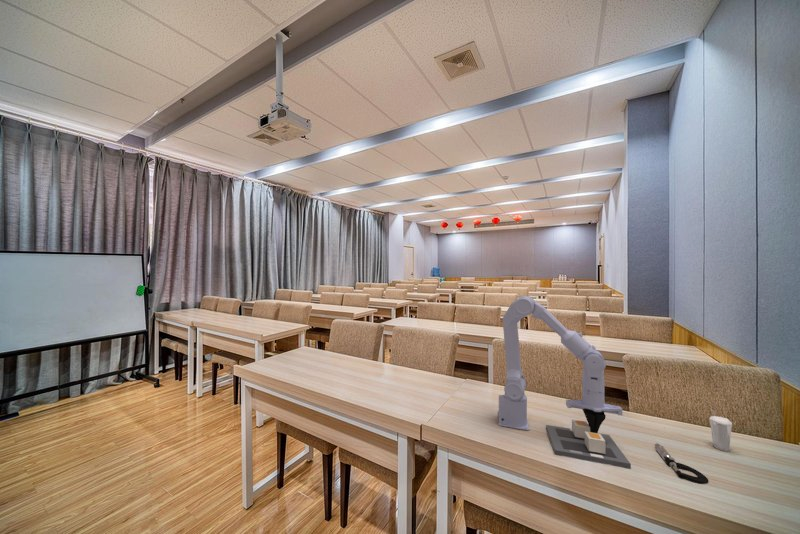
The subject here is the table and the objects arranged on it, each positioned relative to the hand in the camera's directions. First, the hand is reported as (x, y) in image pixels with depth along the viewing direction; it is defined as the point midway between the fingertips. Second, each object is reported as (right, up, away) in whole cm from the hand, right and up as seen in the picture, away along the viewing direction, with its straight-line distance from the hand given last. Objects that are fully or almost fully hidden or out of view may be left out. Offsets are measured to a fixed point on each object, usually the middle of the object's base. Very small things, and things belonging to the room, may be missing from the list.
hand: (593, 434), depth 88 cm
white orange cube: (-4, -1, -6) cm, 7 cm away
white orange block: (-3, -1, +1) cm, 3 cm away
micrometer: (+17, -3, -10) cm, 20 cm away
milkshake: (+37, -3, -2) cm, 37 cm away
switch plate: (-5, -2, -2) cm, 6 cm away
